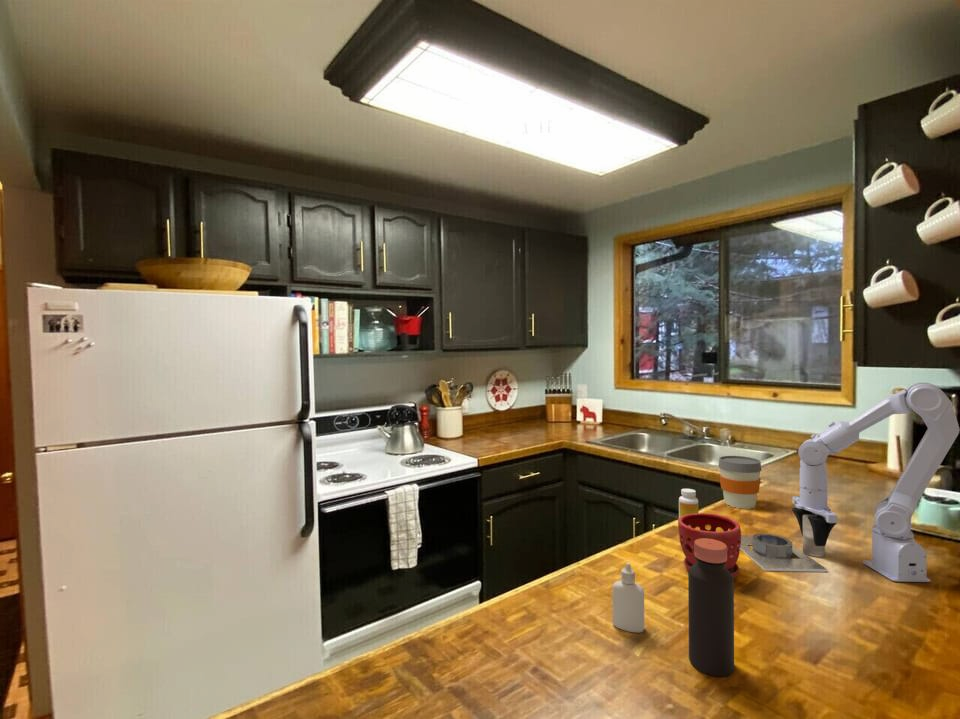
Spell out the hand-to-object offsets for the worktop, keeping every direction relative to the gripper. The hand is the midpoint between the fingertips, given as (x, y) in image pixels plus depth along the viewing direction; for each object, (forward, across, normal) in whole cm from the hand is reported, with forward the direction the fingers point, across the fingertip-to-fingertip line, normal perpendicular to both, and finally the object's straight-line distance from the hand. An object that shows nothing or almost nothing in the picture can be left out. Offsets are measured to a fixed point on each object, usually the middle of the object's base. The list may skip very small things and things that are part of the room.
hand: (813, 541), depth 119 cm
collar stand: (+3, 0, -10) cm, 10 cm away
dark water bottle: (+3, +44, -43) cm, 62 cm away
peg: (+3, 0, 0) cm, 3 cm away
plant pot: (+3, +11, -30) cm, 32 cm away
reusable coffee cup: (+3, -38, 0) cm, 38 cm away
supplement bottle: (+3, -21, -23) cm, 31 cm away
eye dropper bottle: (+3, +34, -54) cm, 64 cm away
